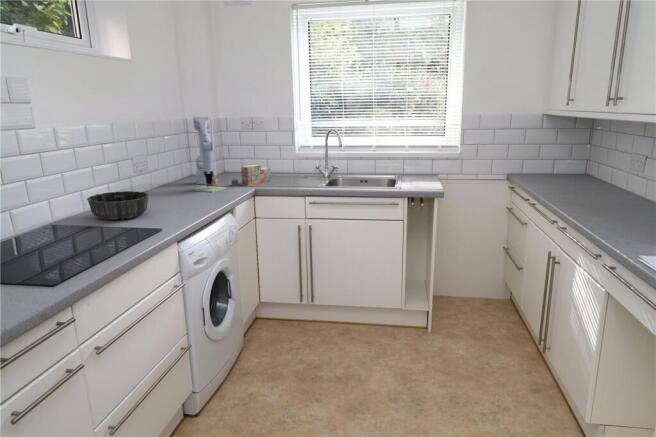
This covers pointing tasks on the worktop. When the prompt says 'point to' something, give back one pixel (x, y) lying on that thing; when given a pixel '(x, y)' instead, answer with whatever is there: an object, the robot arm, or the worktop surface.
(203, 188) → the sage board
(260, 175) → the stack of blocks
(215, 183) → the oak cylinder
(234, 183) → the charcoal cube
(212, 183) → the walnut block
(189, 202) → the worktop surface
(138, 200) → the bundt pan
